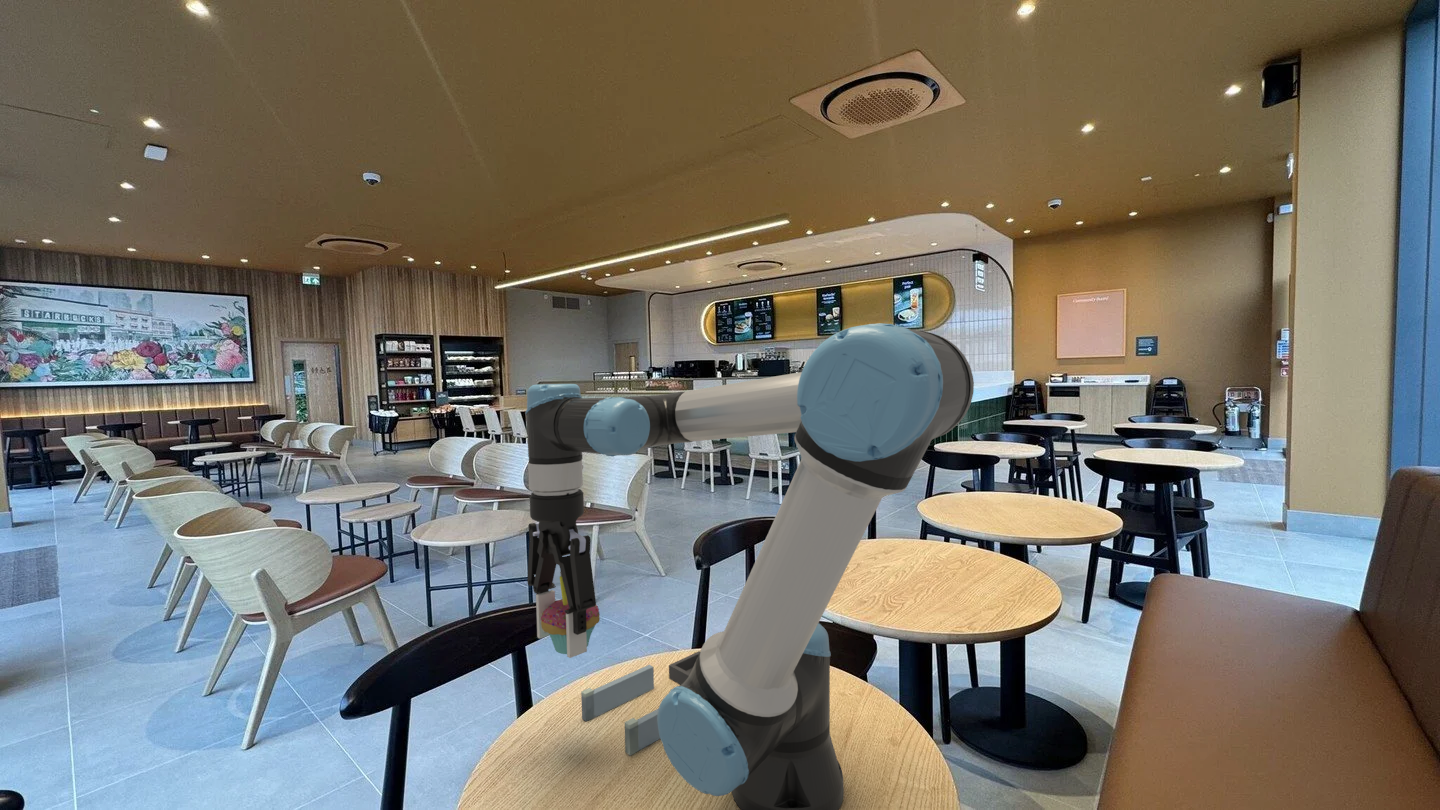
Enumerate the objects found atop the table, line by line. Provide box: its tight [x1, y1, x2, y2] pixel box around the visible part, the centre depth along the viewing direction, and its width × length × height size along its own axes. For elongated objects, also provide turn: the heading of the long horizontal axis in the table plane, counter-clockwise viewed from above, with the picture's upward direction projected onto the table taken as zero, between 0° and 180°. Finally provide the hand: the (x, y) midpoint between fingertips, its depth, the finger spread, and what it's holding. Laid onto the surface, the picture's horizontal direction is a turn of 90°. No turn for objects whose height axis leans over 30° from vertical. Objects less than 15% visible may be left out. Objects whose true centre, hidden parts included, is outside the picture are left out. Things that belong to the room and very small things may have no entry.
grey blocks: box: [580, 664, 661, 756], centre depth 96 cm, size 13×14×5 cm
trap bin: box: [668, 650, 701, 686], centre depth 106 cm, size 13×8×2 cm, turn 44°
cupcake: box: [541, 571, 601, 655], centre depth 86 cm, size 9×8×12 cm
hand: (561, 644), depth 85 cm, fingers closed on cupcake, 8 cm apart
